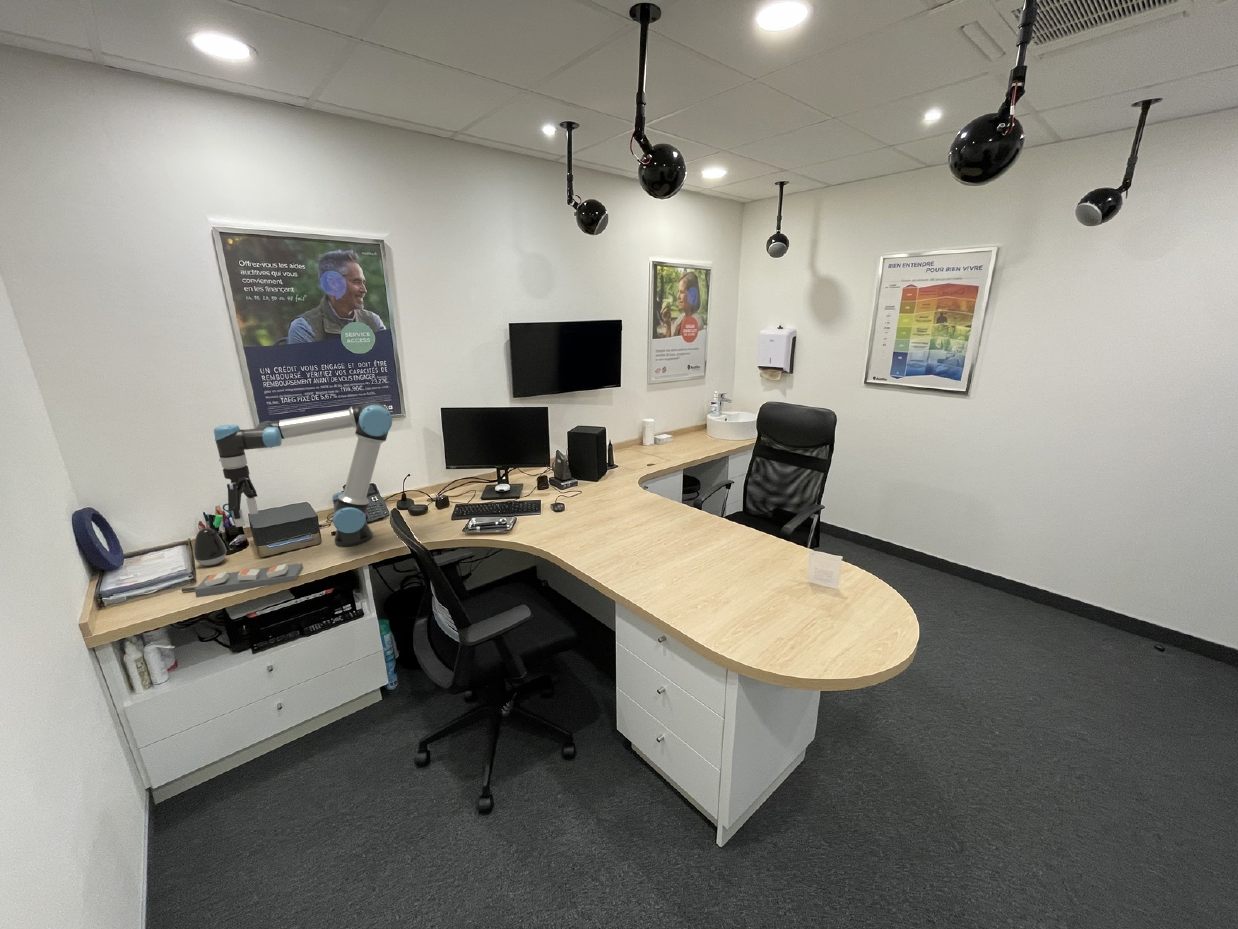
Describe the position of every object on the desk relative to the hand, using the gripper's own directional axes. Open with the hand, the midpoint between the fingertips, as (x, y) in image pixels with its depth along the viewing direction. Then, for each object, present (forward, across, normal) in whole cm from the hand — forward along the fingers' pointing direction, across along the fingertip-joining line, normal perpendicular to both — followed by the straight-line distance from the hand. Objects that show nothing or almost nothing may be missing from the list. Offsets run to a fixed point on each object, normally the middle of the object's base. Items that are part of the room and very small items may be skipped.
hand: (247, 519), depth 188 cm
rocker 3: (+19, +11, +10) cm, 24 cm away
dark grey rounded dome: (+22, -16, -21) cm, 34 cm away
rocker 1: (+19, +11, -9) cm, 24 cm away
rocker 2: (+19, +11, 0) cm, 22 cm away
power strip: (+22, +9, 0) cm, 24 cm away
